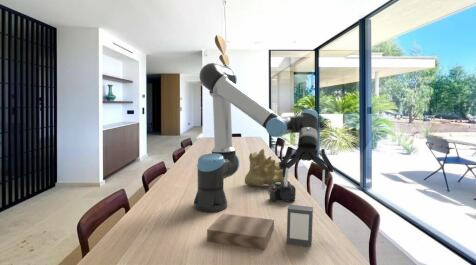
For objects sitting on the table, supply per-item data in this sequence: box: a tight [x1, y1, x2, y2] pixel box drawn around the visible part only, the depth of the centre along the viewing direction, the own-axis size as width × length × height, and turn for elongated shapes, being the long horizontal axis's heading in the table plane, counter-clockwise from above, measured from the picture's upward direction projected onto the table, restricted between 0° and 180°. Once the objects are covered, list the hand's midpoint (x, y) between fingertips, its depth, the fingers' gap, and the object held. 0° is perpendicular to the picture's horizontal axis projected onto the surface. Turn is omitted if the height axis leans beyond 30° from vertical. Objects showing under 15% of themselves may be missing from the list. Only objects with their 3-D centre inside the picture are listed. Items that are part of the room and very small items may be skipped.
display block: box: [206, 213, 275, 250], centre depth 108 cm, size 20×16×4 cm
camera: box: [269, 180, 297, 203], centre depth 149 cm, size 13×10×10 cm
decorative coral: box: [244, 148, 285, 187], centre depth 175 cm, size 26×22×25 cm
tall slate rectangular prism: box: [286, 204, 314, 248], centre depth 103 cm, size 8×5×12 cm, turn 73°
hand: (304, 185), depth 112 cm, fingers open, 13 cm apart
